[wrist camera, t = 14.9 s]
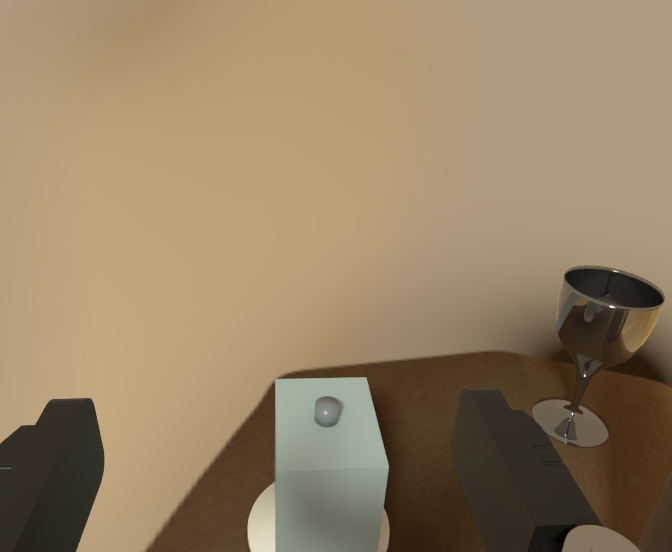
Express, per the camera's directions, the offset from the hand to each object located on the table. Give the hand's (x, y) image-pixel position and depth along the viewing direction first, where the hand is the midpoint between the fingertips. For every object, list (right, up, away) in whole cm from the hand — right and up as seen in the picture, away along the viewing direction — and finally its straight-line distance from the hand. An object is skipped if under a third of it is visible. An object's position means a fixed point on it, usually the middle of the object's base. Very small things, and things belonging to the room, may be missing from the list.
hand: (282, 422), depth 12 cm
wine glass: (+24, -11, +41) cm, 49 cm away
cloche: (0, -15, +28) cm, 31 cm away
